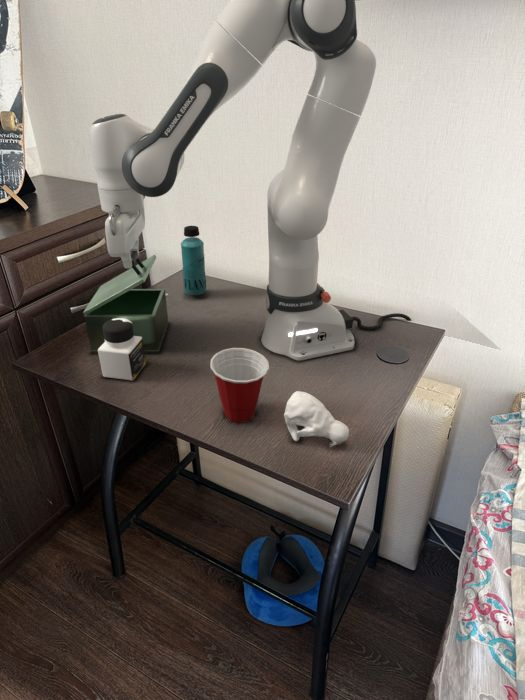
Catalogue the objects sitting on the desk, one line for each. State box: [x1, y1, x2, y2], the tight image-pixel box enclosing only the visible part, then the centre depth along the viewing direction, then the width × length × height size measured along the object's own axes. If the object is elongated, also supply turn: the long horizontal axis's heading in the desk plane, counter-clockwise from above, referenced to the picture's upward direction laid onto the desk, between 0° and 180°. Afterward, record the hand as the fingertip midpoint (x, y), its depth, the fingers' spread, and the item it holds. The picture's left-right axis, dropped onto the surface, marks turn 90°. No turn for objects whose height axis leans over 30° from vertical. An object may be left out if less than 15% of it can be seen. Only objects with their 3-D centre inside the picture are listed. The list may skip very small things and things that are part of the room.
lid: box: [82, 251, 157, 316], centre depth 114 cm, size 16×15×5 cm
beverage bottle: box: [180, 225, 207, 296], centre depth 138 cm, size 6×7×20 cm
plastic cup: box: [210, 347, 270, 423], centre depth 94 cm, size 11×11×12 cm
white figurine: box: [283, 390, 350, 448], centre depth 90 cm, size 6×8×12 cm
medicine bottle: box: [97, 318, 147, 381], centre depth 107 cm, size 7×7×12 cm
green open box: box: [84, 288, 169, 354], centre depth 120 cm, size 16×15×10 cm
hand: (131, 261), depth 112 cm, fingers closed on lid, 5 cm apart
